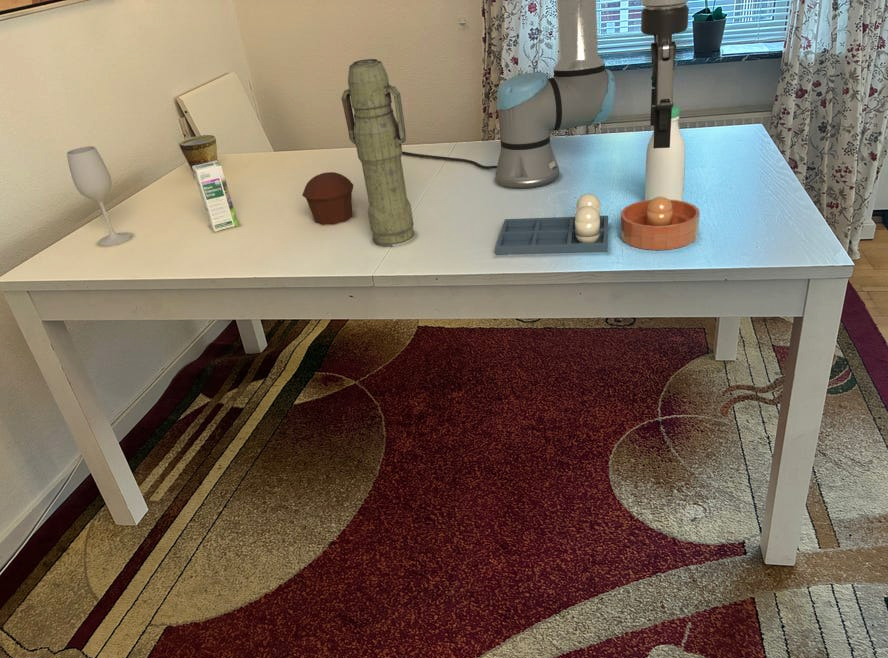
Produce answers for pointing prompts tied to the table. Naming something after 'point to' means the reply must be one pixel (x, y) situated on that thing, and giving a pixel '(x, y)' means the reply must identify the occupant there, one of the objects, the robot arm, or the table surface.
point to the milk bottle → (666, 165)
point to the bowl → (659, 227)
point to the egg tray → (547, 237)
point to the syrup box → (215, 195)
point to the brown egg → (659, 212)
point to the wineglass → (93, 184)
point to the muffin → (329, 198)
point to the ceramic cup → (199, 149)
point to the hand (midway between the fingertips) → (659, 135)
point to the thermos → (379, 149)
